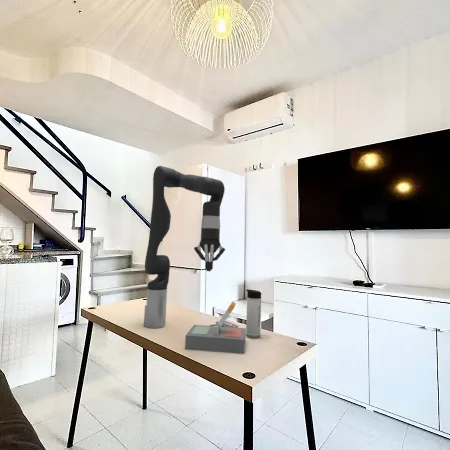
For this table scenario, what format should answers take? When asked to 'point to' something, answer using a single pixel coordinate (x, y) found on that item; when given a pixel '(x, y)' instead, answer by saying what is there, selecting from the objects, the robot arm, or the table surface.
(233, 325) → the graphics card
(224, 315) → the breaker lever
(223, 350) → the breaker base
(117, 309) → the table surface
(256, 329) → the travel mug
